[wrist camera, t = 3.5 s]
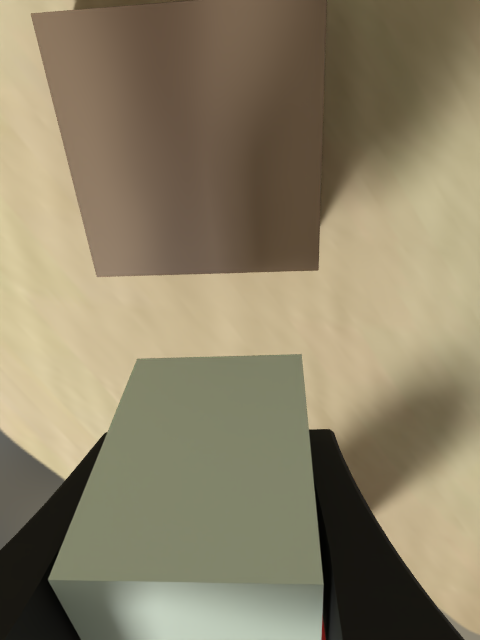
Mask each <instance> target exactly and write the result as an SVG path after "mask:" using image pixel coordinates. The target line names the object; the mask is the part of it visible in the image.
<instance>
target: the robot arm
mask: <svg viewBox="0 0 480 640" xmlns="http://www.w3.org/2000/svg"><path fill="white" fill-rule="evenodd" d="M106 435H107V432H106V433H105V434H104V435H103V436H102V437H101V438H100V439H99V441H98V442H97V443H96V444H95V445H94V447H93V448H92V449H91V450H90V451H89V453H88V454H87V455H86V456H85V458H84V459H83V460H82V461H81V462H80V464H79V465H78V466H77V467H76V468H75V470H74V471H73V472H72V473H71V474H70V476H69V477H68V478H67V479H66V480H65V481H64V483H63V484H62V485H61V486H60V487H59V488H58V489H57V491H56V492H55V493H54V494H53V495H52V496H51V498H50V499H49V500H48V501H47V502H46V503H45V504H44V506H42V508H41V509H40V510H39V511H38V512H37V513H36V514H35V515H34V516H33V517H32V518H31V519H30V520H29V521H28V523H26V525H25V526H24V527H23V528H22V529H21V530H20V531H19V532H18V533H17V534H16V535H15V536H14V537H13V538H12V539H11V540H10V541H9V542H8V543H7V544H6V545H5V546H4V547H3V548H2V549H1V550H0V640H81V639H80V637H79V635H78V633H77V631H76V630H75V628H74V626H73V624H72V622H71V621H70V619H69V617H68V615H67V613H66V612H65V610H64V608H63V606H62V604H61V603H60V601H59V599H58V597H57V596H56V594H55V592H54V590H53V588H52V587H51V585H50V583H49V581H48V578H49V576H50V573H51V571H52V568H53V566H54V563H55V561H56V558H57V556H58V554H59V551H60V549H61V546H62V544H63V541H64V539H65V536H66V534H67V531H68V529H69V526H70V524H71V521H72V519H73V516H74V514H75V512H76V509H77V507H78V504H79V502H80V499H81V497H82V494H83V492H84V489H85V487H86V484H87V482H88V479H89V477H90V474H91V472H92V469H93V467H94V465H95V462H96V460H97V457H98V455H99V452H100V450H101V447H102V445H103V442H104V440H105V437H106ZM309 437H310V448H311V458H312V469H313V479H314V490H315V500H316V511H317V521H318V532H319V542H320V552H321V563H322V573H323V584H324V587H323V612H322V615H323V622H324V630H325V639H326V640H464V639H463V637H462V636H461V635H460V634H459V633H458V631H457V630H456V629H455V628H454V627H453V625H452V624H451V623H450V622H449V621H448V619H447V618H446V617H445V616H444V615H443V613H442V612H441V611H440V610H439V609H438V607H437V606H436V605H435V603H434V602H433V601H432V600H431V598H430V597H429V596H428V594H427V593H426V592H425V590H424V589H423V588H422V586H421V585H420V584H419V582H418V581H417V580H416V578H415V577H414V575H413V574H412V573H411V571H410V570H409V568H408V567H407V566H406V564H405V563H404V561H403V560H402V559H401V557H400V556H399V554H398V553H397V551H396V550H395V548H394V547H393V545H392V544H391V542H390V541H389V539H388V537H387V536H386V534H385V533H384V531H383V530H382V528H381V526H380V525H379V523H378V522H377V520H376V518H375V517H374V515H373V513H372V511H371V510H370V508H369V506H368V504H367V503H366V501H365V499H364V497H363V495H362V494H361V492H360V490H359V488H358V486H357V485H356V483H355V481H354V479H353V477H352V475H351V473H350V471H349V468H348V466H347V464H346V462H345V460H344V458H343V455H342V453H341V451H340V448H339V446H338V443H337V440H336V437H335V434H334V432H333V431H331V430H330V429H317V430H309Z"/></svg>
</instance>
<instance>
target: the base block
mask: <svg viewBox="0 0 480 640" xmlns="http://www.w3.org/2000/svg"><path fill="white" fill-rule="evenodd" d="M326 13H327V0H192V1H179V2H167V3H154V4H142V5H130V6H117V7H105V8H92V9H80V10H67V11H55V12H43V13H31V17H32V21H33V25H34V29H35V33H36V37H37V41H38V45H39V49H40V53H41V57H42V61H43V65H44V69H45V73H46V77H47V81H48V85H49V89H50V93H51V97H52V101H53V105H54V109H55V113H56V117H57V121H58V125H59V128H60V132H61V136H62V140H63V144H64V148H65V152H66V156H67V160H68V164H69V168H70V172H71V176H72V180H73V184H74V188H75V192H76V196H77V200H78V204H79V208H80V212H81V216H82V220H83V224H84V228H85V232H86V236H87V240H88V244H89V248H90V252H91V256H92V260H93V264H94V268H95V271H96V275H97V277H112V276H145V275H179V274H213V273H247V272H281V271H315V270H318V267H319V235H320V203H321V172H322V140H323V108H324V76H325V44H326Z"/></svg>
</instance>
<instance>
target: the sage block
mask: <svg viewBox="0 0 480 640" xmlns="http://www.w3.org/2000/svg"><path fill="white" fill-rule="evenodd" d="M48 581H49V583H50V585H51V587H52V588H53V590H54V592H55V594H56V596H57V597H58V599H59V601H60V603H61V604H62V606H63V608H64V610H65V612H66V613H67V615H68V617H69V619H70V621H71V622H72V624H73V626H74V628H75V630H76V631H77V633H78V635H79V637H80V639H81V640H321V637H322V612H323V587H324V584H323V573H322V563H321V552H320V542H319V532H318V521H317V511H316V500H315V490H314V479H313V469H312V458H311V448H310V437H309V427H308V417H307V406H306V396H305V385H304V375H303V364H302V354H295V355H259V356H222V357H186V358H149V359H137V361H136V363H135V366H134V368H133V371H132V373H131V376H130V378H129V381H128V383H127V385H126V388H125V390H124V393H123V395H122V398H121V400H120V403H119V405H118V408H117V410H116V413H115V415H114V418H113V420H112V423H111V425H110V427H109V430H108V432H107V435H106V437H105V440H104V442H103V445H102V447H101V450H100V452H99V455H98V457H97V460H96V462H95V465H94V467H93V469H92V472H91V474H90V477H89V479H88V482H87V484H86V487H85V489H84V492H83V494H82V497H81V499H80V502H79V504H78V507H77V509H76V512H75V514H74V516H73V519H72V521H71V524H70V526H69V529H68V531H67V534H66V536H65V539H64V541H63V544H62V546H61V549H60V551H59V554H58V556H57V558H56V561H55V563H54V566H53V568H52V571H51V573H50V576H49V578H48Z"/></svg>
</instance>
